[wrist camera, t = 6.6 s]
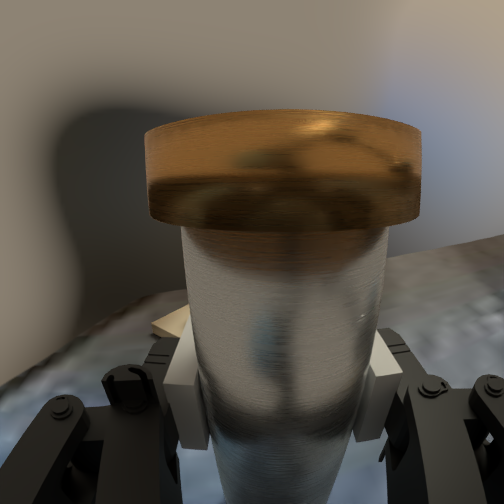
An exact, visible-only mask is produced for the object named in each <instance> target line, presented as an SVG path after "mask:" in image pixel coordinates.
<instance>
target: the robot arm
mask: <svg viewBox="0 0 504 504" xmlns="http://www.w3.org/2000/svg"><path fill="white" fill-rule="evenodd" d="M144 362H145V363H143V365H142V366H140V365H132V364H128V365H122V366H118V367H116V368H114V369H111V370H110V371H109V372H108V373H106V374H105V375H104V377H103V379H102V380H101V382H102V384H103V387H104V389H105V392H106V394H107V397H108V399H109V402H110V404H111V405H108V406H101V407H86V408H85V407H84V405H83V403H82V401H81V400H80V399H79V398H78V397H75V396H73V395H60V396H56V397H54V398H52V399H50V400H49V401H48V402H47V403H46V404H45V405H44V406H43V407H42V409H41V410H40V411H39V413H38V414H37V416H36V417H35V418H34V420H33V421H32V423H31V424H30V425H29V427H28V428H27V430H26V431H25V432H24V434H23V435H22V437H21V438H20V440H19V441H18V443H17V444H16V445H15V447H14V448H13V450H12V451H11V453H10V454H9V456H8V457H7V459H6V460H5V462H4V464H3V465H2V467H1V468H0V504H183V501H182V491H181V480H180V467H179V458H178V455H177V452H176V448H177V444H178V440H179V441H180V444H181V447H182V448H184V449H195V450H207V449H208V443H209V436H210V430H209V425H208V420H207V415H206V410H205V405H204V399H203V393H202V388H201V382H200V376H199V370H198V364H197V357H196V351H195V344H194V337H193V330H192V323H191V316H190V315H189V317H188V320H187V322H186V325H185V327H184V330H183V333H182V335H181V338H179V337H162V338H161V339H159V340H158V341H157V342H156V343H154V344H153V346H152V348H151V349H150V351H149V353H148V356H147V357H146V359H145V361H144ZM384 427H385V429H386V432H387V434H388V439H387V441H386V443H385V446H384V448H383V450H382V452H381V454H380V456H379V462H382V460H383V458H384V456H385V457H386V473H387V496H388V504H504V379H503V378H501V377H498V376H496V375H490V374H488V375H482V376H481V377H479V378H478V379H477V381H476V382H475V384H474V386H473V389H452V388H451V387H450V385H449V384H448V382H446V381H445V380H444V379H442V378H441V377H438V376H435V375H428V374H427V373H426V371H425V370H424V369H423V367H422V366H421V364H420V363H419V361H418V360H417V359H416V357H415V356H414V354H413V353H412V352H410V349H409V347H408V346H407V345H406V343H405V342H404V340H403V339H402V338H401V336H400V335H399V334H397V333H396V332H394V331H393V330H391V329H390V328H385V329H376V333H375V338H374V344H373V349H372V354H371V358H370V363H369V368H368V372H367V376H366V381H365V385H364V389H363V393H362V397H361V401H360V404H359V408H358V412H357V415H356V419H355V422H354V426H353V429H352V430H353V433H354V436H355V439H356V443H357V442H363V441H369V440H374V439H379V438H380V436H381V434H382V431H383V429H384ZM489 433H490V434H491V435H492V437H493V438H494V439H493V441H492V442H491V443H489V442H488V441H487V440H486V437H487V436H488V434H489Z"/></svg>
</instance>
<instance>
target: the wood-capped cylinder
mask: <svg viewBox="0 0 504 504" xmlns="http://www.w3.org/2000/svg"><path fill="white" fill-rule="evenodd" d="M421 150H422V149H421V131H419V130H418V129H417V128H415V127H413V126H410V125H407V124H404V123H401V122H398V121H394V120H390V119H385V118H380V117H375V116H369V115H363V114H355V113H347V112H336V111H324V110H323V111H322V110H299V109H295V110H294V109H278V110H253V111H241V112H230V113H221V114H214V115H207V116H201V117H195V118H190V119H185V120H181V121H177V122H173V123H169V124H165V125H162V126H159V127H156V128H154V129H152V130H150V131H148V132H147V133H146V134H145V158H146V176H147V190H148V203H149V214H150V216H151V217H152V218H153V219H155V220H157V221H160V222H163V223H167V224H172V225H177V226H181V233H182V244H183V254H184V264H185V274H186V283H187V292H188V300H189V308H190V316H191V323H192V330H193V337H194V344H195V351H196V357H197V364H198V370H199V376H200V382H201V388H202V393H203V399H204V405H205V410H206V415H207V420H208V425H209V430H210V435H211V440H212V445H213V450H214V454H215V459H216V463H217V468H218V472H219V476H220V480H221V485H222V489H223V493H224V497H225V501H226V504H326V503H327V500H328V498H329V495H330V493H331V490H332V488H333V485H334V483H335V480H336V477H337V474H338V472H339V469H340V466H341V463H342V460H343V457H344V454H345V451H346V448H347V445H348V442H349V439H350V436H351V432H352V429H353V426H354V422H355V419H356V415H357V412H358V408H359V404H360V401H361V397H362V393H363V389H364V385H365V381H366V376H367V372H368V368H369V363H370V358H371V354H372V349H373V344H374V338H375V333H376V327H377V322H378V316H379V310H380V303H381V296H382V289H383V281H384V273H385V265H386V254H387V245H388V232H389V226H392V225H397V224H402V223H405V222H409V221H412V220H414V219H416V218H417V217H418V216H419V213H420V197H421V165H422V159H421V157H422V153H421V152H422V151H421Z"/></svg>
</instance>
